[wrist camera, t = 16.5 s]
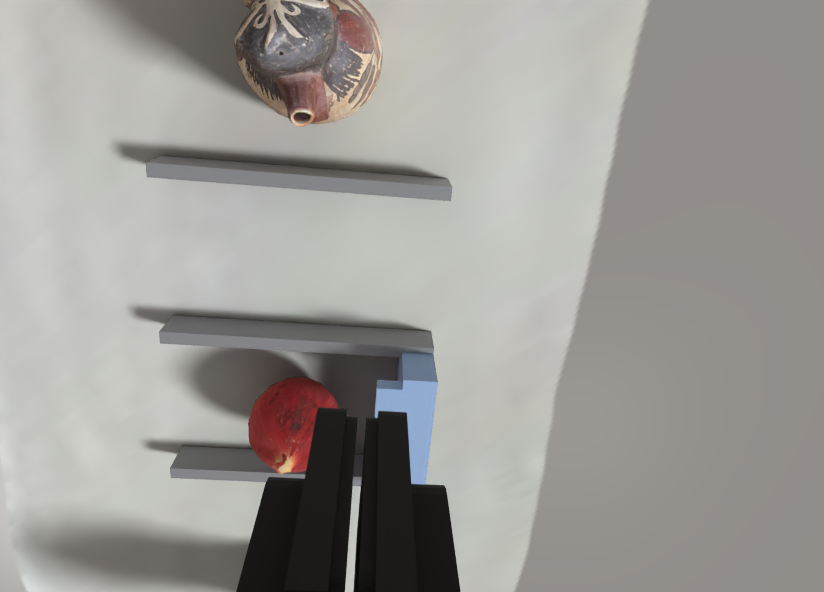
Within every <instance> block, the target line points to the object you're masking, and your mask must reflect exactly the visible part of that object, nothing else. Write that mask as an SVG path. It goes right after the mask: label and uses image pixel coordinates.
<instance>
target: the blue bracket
mask: <svg viewBox="0 0 824 592" xmlns="http://www.w3.org/2000/svg"><path fill="white" fill-rule="evenodd" d="M437 384H438V381H437V375H436V368H435V362H434V356H433V354H425V353H408V352H402V357H401V358H399V363H398V374H397V381H391V380H377V387H376V401H375V418H377V417H378V411H392V412H406V413H407V421H408V437H409V453H410V470H411V484H425V483H426V475H427V467H428V459H429V450H430V442H431V434H432V425H433V417H434V409H435V400H436V392H437Z"/></svg>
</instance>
